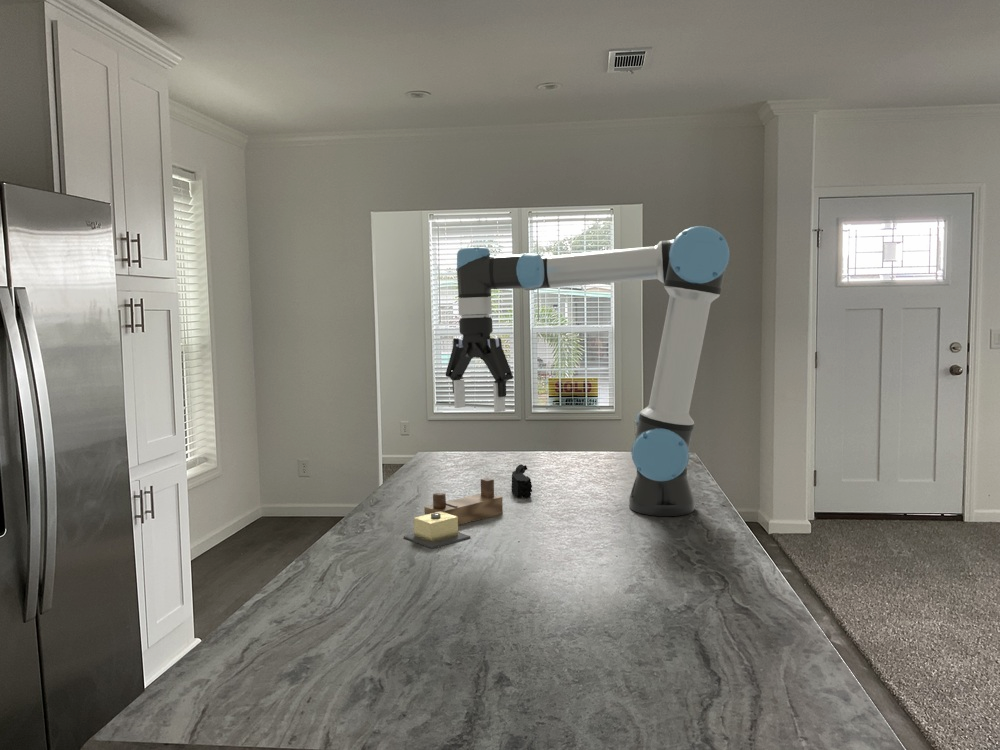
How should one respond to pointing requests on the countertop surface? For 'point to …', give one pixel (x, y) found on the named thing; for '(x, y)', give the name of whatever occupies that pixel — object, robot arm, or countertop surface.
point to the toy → (521, 482)
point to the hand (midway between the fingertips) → (479, 409)
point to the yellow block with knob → (435, 526)
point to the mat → (437, 543)
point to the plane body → (469, 504)
